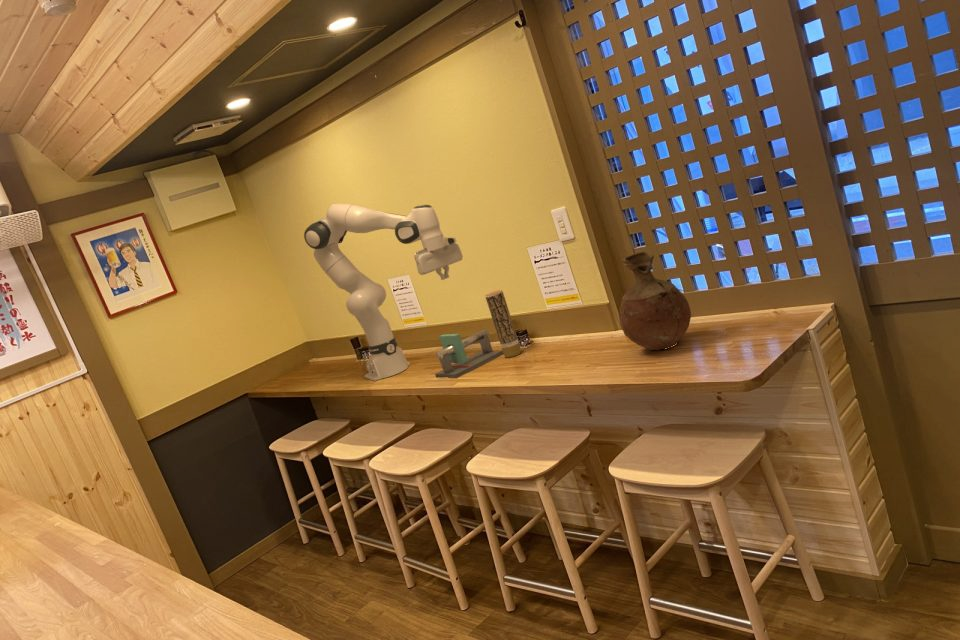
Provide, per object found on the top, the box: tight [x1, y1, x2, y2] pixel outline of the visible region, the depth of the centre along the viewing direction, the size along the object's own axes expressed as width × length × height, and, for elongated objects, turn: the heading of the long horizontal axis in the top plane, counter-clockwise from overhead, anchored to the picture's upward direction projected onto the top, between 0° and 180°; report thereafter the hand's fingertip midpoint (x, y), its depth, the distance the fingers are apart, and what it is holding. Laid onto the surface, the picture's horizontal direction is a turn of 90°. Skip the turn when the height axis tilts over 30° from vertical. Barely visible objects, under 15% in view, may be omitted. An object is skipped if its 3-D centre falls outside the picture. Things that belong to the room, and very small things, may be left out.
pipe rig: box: [436, 328, 494, 373], centre depth 280 cm, size 4×24×9 cm, turn 128°
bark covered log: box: [484, 289, 522, 359], centre depth 273 cm, size 7×7×25 cm
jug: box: [619, 251, 692, 351], centre depth 224 cm, size 22×22×30 cm
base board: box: [434, 349, 504, 379], centre depth 280 cm, size 14×24×2 cm, turn 128°
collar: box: [438, 333, 468, 364], centre depth 276 cm, size 11×2×11 cm, turn 38°
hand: (445, 278), depth 285 cm, fingers closed
